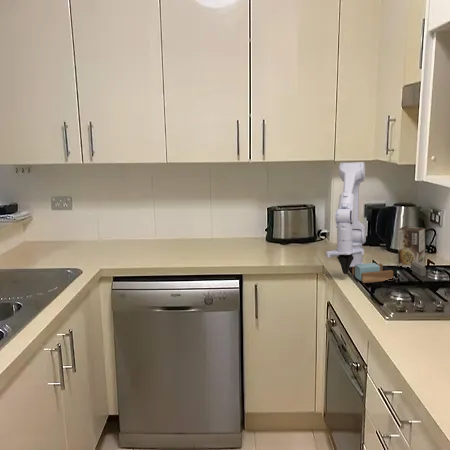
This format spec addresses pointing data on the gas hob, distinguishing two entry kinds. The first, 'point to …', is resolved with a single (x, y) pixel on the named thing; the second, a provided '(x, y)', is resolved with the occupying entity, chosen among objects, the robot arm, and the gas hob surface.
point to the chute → (375, 275)
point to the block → (365, 269)
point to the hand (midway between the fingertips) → (345, 273)
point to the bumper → (418, 269)
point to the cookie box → (411, 246)
